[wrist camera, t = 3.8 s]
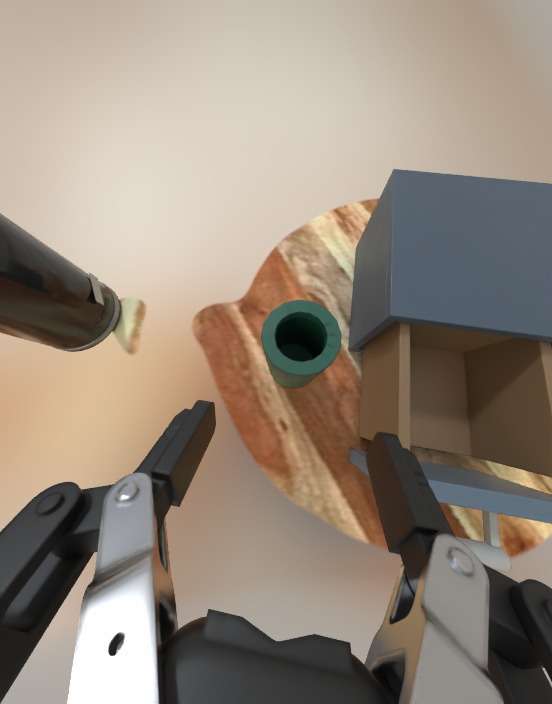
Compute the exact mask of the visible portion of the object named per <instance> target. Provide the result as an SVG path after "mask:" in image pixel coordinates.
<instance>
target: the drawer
mask: <svg viewBox="0 0 552 704" xmlns="http://www.w3.org/2000/svg"><path fill="white" fill-rule="evenodd" d="M377 432H385V433H390V434H395V435H397V436H398V438H399V440H400V442H401V445H402V447H403V448H407V449H408V450H409V451H410V446H415V447H421V448H427V449H433V450H439V451H444V452H450V453H456V454H462V455H467V456H473V457H476V458H480V459H484V460H488V461H492V462H495V463H499V464H503V465H507V466H511V467H515V468H518V469H522V470H526V471H530V472H534V473H537V474H541V475H545V476H549V477H552V348H551V343H550V342H545V341H538V340H531V339H523V338H516V337H509V336H502V335H494V334H487V333H480V332H473V331H465V330H458V329H451V328H444V327H436V326H429V325H422V324H415V323H407V322H400V321H395V322H393V323H392V324H391V325H389V326H388V327H387V328H385V329H384V330H383V331H381V332H380V333H379V334H377V335H376V336H375V337H373V338H372V339H370V340H369V341H368V342H366V343H365V344H364V348H363V366H362V383H361V401H360V419H359V436H360V437H363V438H365V439H368V440H371V441H372V440H373V438H374V436H375V434H376V433H377ZM366 452H367V451H363V450H357V449H352V448H350V450H349V461H350V462H351V463H352V464H354V465H355V466H356V467H357V468H359V469H360V470H361V471H362V472H364V473H365V474H366V475H367V476H369V472H368V468H367V464H366ZM418 462H419V464H420V466H421V468H422V470H423V472H424V476H426V478H427V480H428V482H429V486H430V487H431V488H432V490H433V492H434V495H435V497H436V499H437V501H438V502H440V503H445V504H451V505H456V506H461V507H467V508H472V509H477V510H482V516H483V529H484V540H485V542H481V541H476V540H471V539H465V538H460V537H456V538H458V539H459V540H461V541H462V542H464V543H465V544H466V545H467V546H468V547H469V548H470V549H471V550H472V551H473V552H474V553H475V554H476V556H477V557H478V558H479V560H480V561H481V562H482V563H483V564H485V565H487V566H489V567H490V568H492V569H494V570H496V571H501V572H506V573H507V572H510V571H511V568H512V565H511V561H510V559H509V557H508V555H507V553H506V552H505V551H504V550H503V549H502V548H501V546H500V535H499V525H498V514H504V515H509V516H514V517H520V518H525V519H530V520H536V521H541V522H546V523H551V524H552V495H550V494H547V493H544V492H541V491H538V490H535V489H532V488H529V487H525V486H522V485H519V484H516V483H513V482H510V481H507V480H504V479H501V478H498V477H495V476H492V475H489V474H486V473H483V472H480V471H476V470H470V469H464V468H459V467H453V466H447V465H442V464H436V463H430V462H425V461H419V460H418ZM369 477H370V476H369ZM497 513H498V514H497ZM486 542H487V543H486Z"/></svg>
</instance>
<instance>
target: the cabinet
mask: <svg viewBox="0 0 552 704" xmlns="http://www.w3.org/2000/svg"><path fill="white" fill-rule="evenodd" d="M395 321H400V322H407V323H415V324H422V325H429V326H436V327H444V328H451V329H458V330H465V331H473V332H480V333H487V334H494V335H502V336H509V337H516V338H523V339H531V340H538V341H545V342H550V343H551V348H552V184H547V183H537V182H527V181H515V180H505V179H494V178H484V177H473V176H462V175H452V174H440V173H430V172H419V171H408V170H398V169H394V170H393V172H392V174H391V176H390V179H389V180H388V182H387V184H386V186H385V188H384V190H383V193H382V195H381V197H380V199H379V201H378V203H377V205H376V207H375V209H374V211H373V213H372V216H371V218H370V220H369V222H368V224H367V226H366V228H365V230H364V232H363V234H362V236H361V239H360V241H359V243H358V245H357V247H356V255H355V268H354V282H353V295H352V308H351V321H350V334H349V347H348V350H351V351H358V352H363V348H364V344H365V343H366V342H368V341H369V340H370V339H372V338H373V337H375V336H376V335H377V334H379V333H380V332H381V331H383V330H384V329H385V328H387V327H388V326H389V325H391V324H392V323H393V322H395Z"/></svg>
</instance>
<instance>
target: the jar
mask: <svg viewBox="0 0 552 704" xmlns="http://www.w3.org/2000/svg"><path fill="white" fill-rule="evenodd" d="M261 340H262V345H263V349H264V353H265V356H266V360H267V363H268V366H269V370H270V373H271V375H272V376H273V378H274V379H275V380H276V381H277V382H278V383H279V384H281V385H282V386H285V387H288V388H299V387H302V386H305V385H306V384H307V383H309V382H310V381H311V380H313V379H314V378H315V377H316V376H317V375H319V374H320V373H321V372H322V371H323V370H325V369H326V368H327V367H328V366H329V365H331V364H332V363H333V361H334V360H335V358H336V356H337V354H338V352H339V351H340V345H341V332H340V329H339V326H338V323H337V321H336V319H335V318H334V317H333V316H332V314H331V313H330V312H329V311H328V310H327V309H326V308H324V307H322V306H320V305H318V304H316V303H315V302H311V301H304V300H296V301H291V302H287V303H284V304H282V305H281V306H279V307H278V308H276V309H275V310H273V311H272V312H271V314H270V315H269V317H268V318H267V319H266V321H265V322H264V324H263V330H262V335H261Z"/></svg>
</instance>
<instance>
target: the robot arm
mask: <svg viewBox="0 0 552 704" xmlns="http://www.w3.org/2000/svg"><path fill="white" fill-rule="evenodd" d="M89 274H90V273H89ZM119 315H120V303H119V300H118V297H117V296H116V294H115V292H114V291H113V290H112V289H110V288H109V287H107V286H106V285H105V284H103V283H101V282H99V281H98V279H97V278H96V277H94V276H93V275H92V274H90V275H88V274H87V273H86V272H84V271H83V270H82V269H80V268H79V267H77V266H76V265H74V264H73V263H71V262H70V261H68V260H67V259H66V258H64V257H63V256H61V255H60V254H58V253H57V252H55V251H54V250H53V249H51V248H50V247H48V246H47V245H45V244H44V243H42V242H41V241H39V240H38V239H37V238H35V237H34V236H32V235H31V234H29V233H28V232H26V231H25V230H23V229H22V228H21V227H19V226H18V225H16V224H15V223H13V222H12V221H10V220H9V219H7V218H6V217H4V216H3V215H1V214H0V333H3V334H7V335H11V336H15V337H19V338H22V339H25V340H29V341H34V342H37V343H41V344H45V345H48V346H52V347H54V348H57V349H61V350H64V351H71V352H76V351H82V350H86V349H89V348H91V347H94V346H95V345H97V344H99V343H100V342H102V341H103V340H104V339H105V338H106V337H107V336H108V335H109V334H110V333H111V332H112V330H113V329H114V327H115V326H116V324H117V321H118V318H119ZM215 426H216V419H215V405H214V402H208V401H203V400H198V401H197V402H196V403H195V405H194V406H193V408H192V409H191V410H189V409H184V410H183V411H182V412H180V413H179V414H178V415H176V416H175V417H174V419H173V420H172V422H171V423H170V424H169V427H168V428H166V430H165V431H164V433H163V435H162V436H161V437H160V438H159V440H158V441H157V442H156V444H155V445H154V446H153V448H152V449H151V450H150V452H149V453H148V455H147V456H146V457H145V459H144V460H143V461H142V463H141V464H140V466H139V467H138V468H137V469H136V470H135V471H134V472H133V474H130V475H127V476H125V477H123V478H122V479H120V480H119V481H118V482H116V483H115V484H113V485H108V486H102V487H96V488H90V489H82V490H81V489H80V488H79V486H78V485H77V484H75V483H73V482H63V483H59V484H56V485H54V486H52V487H49V488H48V489H46V490H44V491H43V492H41V493H40V494H38V495H37V496H36V497H34V499H32V500H31V501H30V502H29V503H28V504H27V505H26V506H25V507H24V508H23V509H22V510H21V511H20V512H19V513H18V514H17V515H16V516H15V517H14V519H13V520H12V521H11V522H10V523H9V524H8V525H7V526H6V527H5V528H4V529H3V530H2V531H1V532H0V703H1V701H2V700H3V698H4V697H5V695H6V693H7V692H8V690H9V689H10V687H11V685H12V684H13V682H14V680H15V679H16V677H17V676H18V674H19V673H20V671H21V669H22V668H23V666H24V664H25V663H26V661H27V660H28V658H29V656H30V655H31V653H32V652H33V650H34V648H35V647H36V645H37V644H38V642H39V640H40V639H41V637H42V636H43V634H44V632H45V630H46V629H47V627H48V626H49V624H50V623H51V621H52V619H53V618H54V616H55V615H56V613H57V611H58V610H59V608H60V606H61V605H62V603H63V602H64V600H65V599H66V597H67V595H68V594H69V592H70V591H71V588H72V587H73V586H74V584H75V582H76V581H77V579H78V577H79V576H80V574H81V572H82V571H83V570H84V568H85V566H86V565H87V563H88V562H89V560H90V558H91V557H92V555H93V553H94V552H97V561H96V570H95V575H94V579H93V581H92V582H91V583H90V584H89V585H88V587H87V589H86V591H85V593H84V597H83V601H82V605H81V612H80V619H79V626H78V633H77V641H76V648H75V655H74V661H73V668H72V675H71V682H70V690H69V697H68V704H552V687H551V685H550V683H549V681H548V679H547V677H546V675H545V673H544V671H543V669H542V668H545V669H546V671H547V673H548V675H549V677H550V679H551V681H552V589H551V588H550V587H548V586H547V585H545V584H543V583H541V582H539V581H536V580H532V579H528V580H525V581H523V582H520V583H518V582H516V581H514V580H512V579H510V578H509V577H507V576H505V575H503V574H501V573H499V572H498V571H496V570H494V569H492V568H490V567H489V566H487V565H485V564H483V563H482V562H481V561H480V560H479V558H478V557H477V556H476V554H475V553H474V552H473V551H472V550H471V549H470V548H469V547H468V546H467V545H466V544H465V543H464V542H462V541H461V540H459V539H458V538H456V536H455V535H454V533H453V531H452V529H451V527H450V525H449V523H448V521H447V519H446V517H445V515H444V513H443V511H442V509H441V507H440V505H439V503H438V501H437V499H436V497H435V495H434V492H433V490H432V488H431V487H430V486H429V482H428V480H427V478H426V476H424V472H423V470H422V468H421V466H420V464H419V462H418V460H417V459H416V458H415V457H414V455H413V454H412V453H411V452H410V451H409V450H408V449H407V448H403V447H402V445H401V442H400V440H399V438H398V436H397V435H395V434H390V433H385V432H377V433H376V434H375V436H374V438H373V440H372V442H371V444H370V446H369V448H368V449H367V452H366V464H367V468H368V472H369V476H370V480H371V484H372V488H373V492H374V495H375V499H376V503H377V507H378V511H379V515H380V519H381V523H382V526H383V530H384V534H385V538H386V542H387V546H388V550H389V552H392V553H397V554H400V555H401V558H402V562H403V564H402V565H401V568H400V571H399V574H398V577H397V580H396V583H395V587H394V590H393V593H392V596H391V600H390V603H389V606H388V609H387V612H386V616H385V618H384V621H383V624H382V625H381V627H380V629H379V630H378V632H377V634H376V635H375V637H374V639H373V642H372V644H371V647H370V649H369V653H368V655H367V659H366V662H365V665H364V664H363V663H362V662H361V661H360V660H359V659H358V658H356V657H355V656H354V655H353V654H352V653H351V647H350V643H349V642H345V641H341V640H336V639H332V638H328V637H324V636H320V635H316V634H313V635H308V636H304V637H299V638H294V639H289V640H285V641H275V640H273V639H271V638H270V637H269V636H267V635H266V634H265V633H263V632H262V631H260V630H259V629H258V628H256V627H255V626H254V625H252V624H251V623H250V622H248V621H247V620H246V619H244V618H243V617H240V616H236V615H232V614H228V613H224V612H219V611H215V610H211V609H209V610H208V614H207V617H202V618H199V619H196V620H194V621H191V622H190V623H188V624H186V625H185V626H183V627H181V628H180V629H179V630H178V623H177V613H176V603H175V595H174V589H173V583H172V579H171V573H170V563H169V552H168V542H167V531H166V521H165V516H166V514H167V512H168V510H169V508H170V506H171V505H172V506H177V507H180V504H181V502H182V500H183V498H184V496H185V494H186V491H187V489H188V487H189V485H190V483H191V481H192V479H193V477H194V475H195V472H196V470H197V468H198V466H199V464H200V462H201V460H202V457H203V455H204V453H205V451H206V449H207V447H208V445H209V443H210V440H211V438H212V436H213V434H214V431H215ZM117 649H118V650H119V653H118V654H116V650H117Z"/></svg>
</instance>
